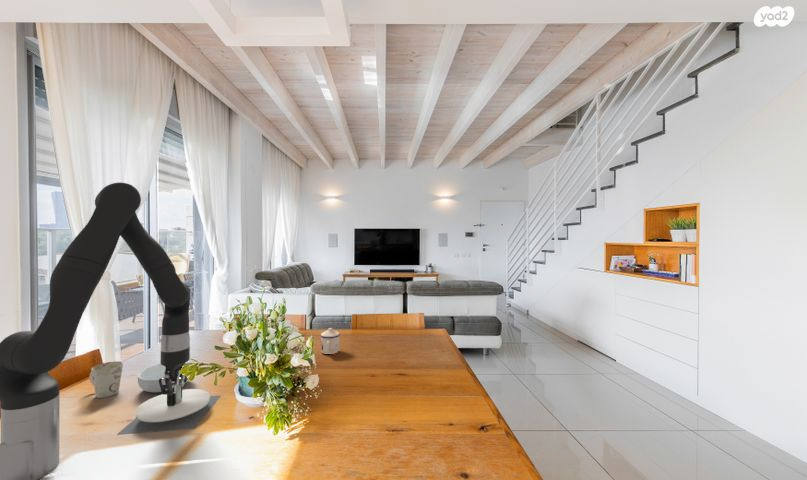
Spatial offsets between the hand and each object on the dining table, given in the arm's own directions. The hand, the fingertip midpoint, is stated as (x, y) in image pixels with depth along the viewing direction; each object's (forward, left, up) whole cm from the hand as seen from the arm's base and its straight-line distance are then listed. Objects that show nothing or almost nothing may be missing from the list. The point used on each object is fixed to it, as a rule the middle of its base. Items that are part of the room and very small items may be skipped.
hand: (174, 402), depth 104 cm
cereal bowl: (+21, +12, -5) cm, 25 cm away
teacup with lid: (+50, -45, -4) cm, 67 cm away
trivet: (+1, 0, -4) cm, 4 cm away
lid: (0, 0, -1) cm, 1 cm away
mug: (+20, +32, -4) cm, 38 cm away
